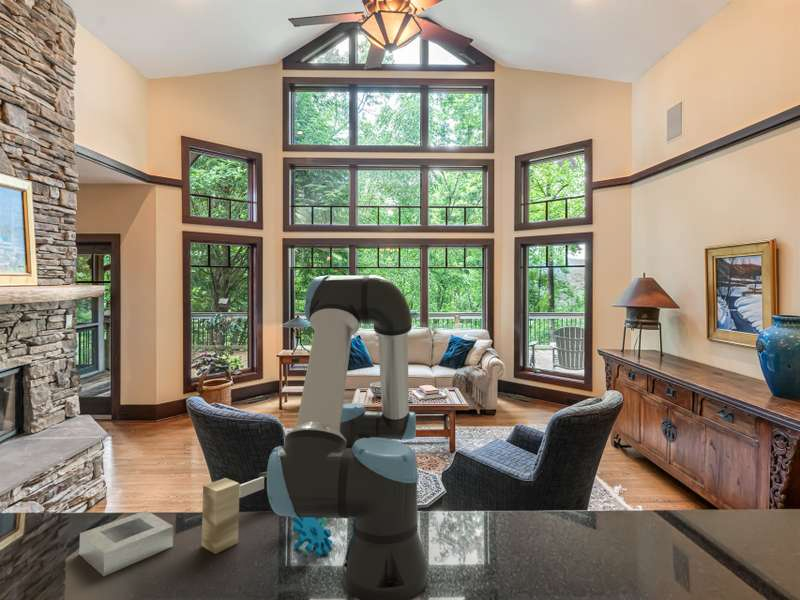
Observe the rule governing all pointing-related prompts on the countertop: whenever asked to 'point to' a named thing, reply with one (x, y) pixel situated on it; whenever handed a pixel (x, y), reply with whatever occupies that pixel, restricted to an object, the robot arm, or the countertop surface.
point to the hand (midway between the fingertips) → (257, 498)
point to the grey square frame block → (125, 542)
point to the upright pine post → (220, 515)
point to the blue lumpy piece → (312, 534)
